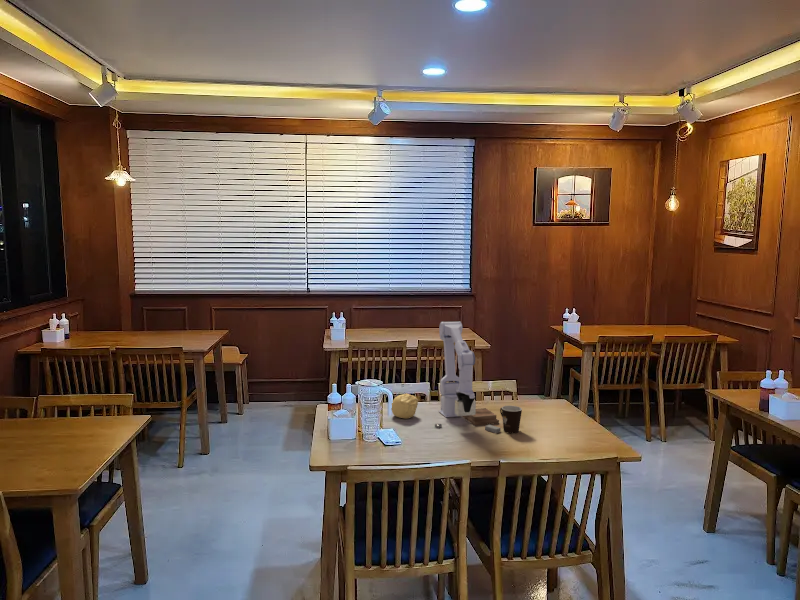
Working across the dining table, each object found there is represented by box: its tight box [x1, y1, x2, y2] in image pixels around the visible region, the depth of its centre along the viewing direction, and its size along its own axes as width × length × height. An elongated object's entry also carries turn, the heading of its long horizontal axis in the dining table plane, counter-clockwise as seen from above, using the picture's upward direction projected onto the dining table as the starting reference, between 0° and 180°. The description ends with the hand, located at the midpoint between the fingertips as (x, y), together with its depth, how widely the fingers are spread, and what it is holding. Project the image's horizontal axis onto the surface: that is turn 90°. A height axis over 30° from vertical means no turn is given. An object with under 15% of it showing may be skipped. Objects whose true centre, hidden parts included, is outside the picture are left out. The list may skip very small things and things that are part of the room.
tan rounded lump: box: [390, 392, 419, 420], centre depth 260 cm, size 12×12×11 cm
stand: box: [461, 407, 500, 427], centre depth 256 cm, size 14×12×4 cm
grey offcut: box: [484, 424, 502, 434], centre depth 242 cm, size 6×3×2 cm, turn 44°
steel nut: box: [434, 423, 443, 429], centre depth 246 cm, size 3×3×1 cm
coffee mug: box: [499, 405, 523, 434], centre depth 243 cm, size 12×9×10 cm
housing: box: [455, 399, 477, 417], centre depth 243 cm, size 4×8×6 cm, turn 107°
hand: (465, 410), depth 243 cm, fingers closed on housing, 4 cm apart
